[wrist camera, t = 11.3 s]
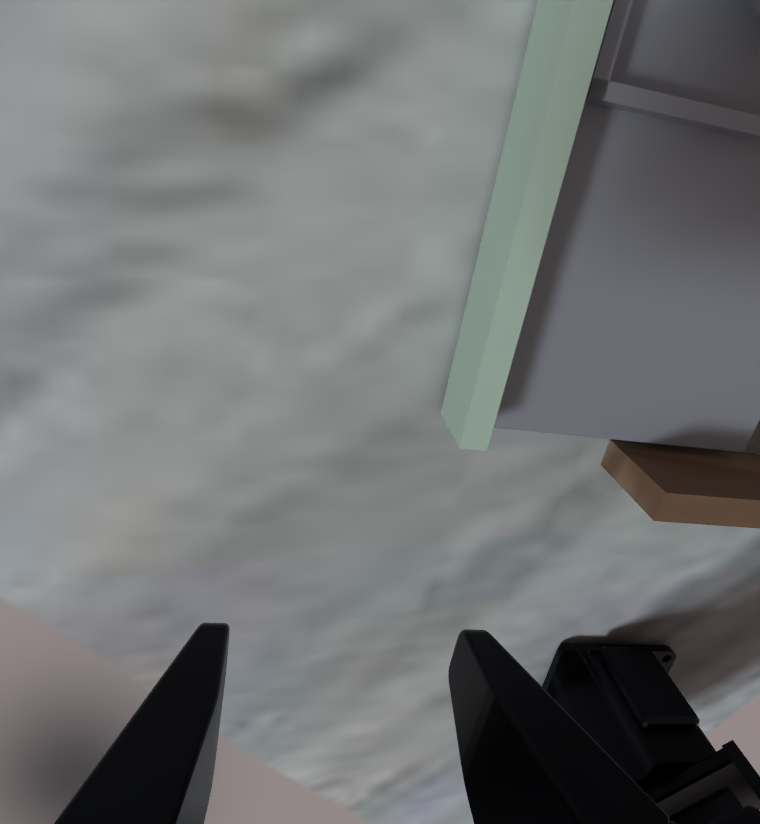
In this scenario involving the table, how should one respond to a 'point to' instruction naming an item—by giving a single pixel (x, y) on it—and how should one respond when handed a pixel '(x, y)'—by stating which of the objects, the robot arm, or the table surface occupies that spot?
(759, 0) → the plastic bottle
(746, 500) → the dock
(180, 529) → the table surface
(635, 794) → the robot arm
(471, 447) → the tray
